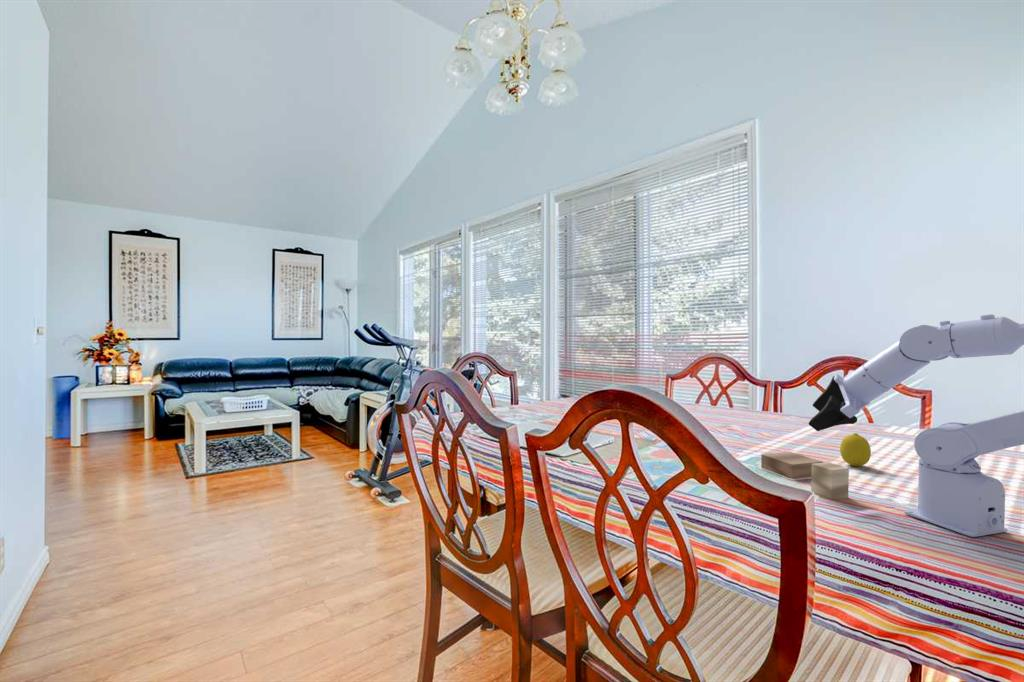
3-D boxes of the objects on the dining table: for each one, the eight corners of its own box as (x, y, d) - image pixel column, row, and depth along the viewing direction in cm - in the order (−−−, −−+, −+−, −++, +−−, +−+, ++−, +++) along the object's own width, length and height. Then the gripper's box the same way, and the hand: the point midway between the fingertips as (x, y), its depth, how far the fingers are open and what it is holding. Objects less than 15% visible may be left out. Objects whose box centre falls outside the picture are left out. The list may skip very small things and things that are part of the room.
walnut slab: (822, 475, 94) (822, 461, 94) (792, 478, 92) (792, 464, 92) (790, 465, 102) (790, 451, 102) (761, 467, 100) (761, 454, 100)
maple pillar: (848, 501, 82) (848, 468, 82) (831, 503, 81) (831, 470, 81) (827, 493, 86) (828, 462, 86) (811, 495, 85) (811, 463, 85)
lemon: (871, 473, 98) (871, 437, 98) (839, 468, 101) (840, 433, 101) (870, 467, 102) (870, 432, 102) (840, 463, 106) (840, 429, 106)
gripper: (858, 346, 87) (802, 387, 96) (856, 377, 77) (793, 420, 85) (891, 371, 85) (831, 410, 94) (894, 406, 75) (825, 447, 84)
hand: (815, 417), depth 90 cm, fingers open, 7 cm apart
